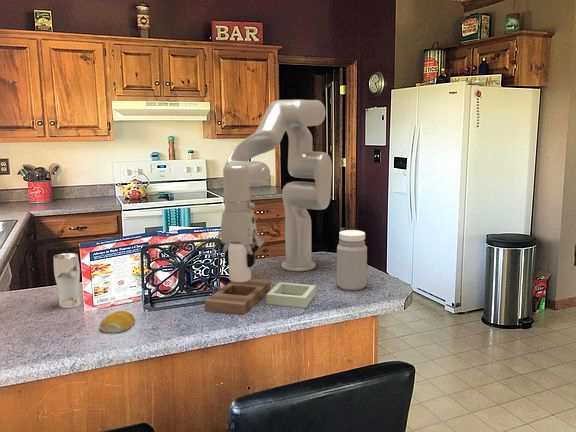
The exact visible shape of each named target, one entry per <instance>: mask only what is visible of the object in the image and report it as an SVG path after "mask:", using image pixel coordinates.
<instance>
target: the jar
mask: <svg viewBox="0 0 576 432" xmlns="http://www.w3.org/2000/svg"><path fill="white" fill-rule="evenodd" d="M338 234H339V235H338V237H339V238H338V239H339V241H338V244H337V246H336V286H337V287H338V288H339V289H341V290H345V291H361V290H363V289H365V288H366V286H367V279H368V278H367V275H368V273H367V272H368V271H367V269H368V268H367V267H368V266H367V265H368V246H367V245H366V241H365V240H366V233H365V231H362V230H359V229H358V230H357V229H346V230H341V231H339V233H338Z"/></svg>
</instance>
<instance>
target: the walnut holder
mask: <svg viewBox="0 0 576 432" xmlns="http://www.w3.org/2000/svg"><path fill="white" fill-rule="evenodd" d="M271 286H272V285H271V281H268V280H259V279H250V280H249V281H247V282H243V283H235V282H232V281H231V280H230V282H229V283H227V284H226V285H224V286H222V288H220V289H219V290H220V291H219V290H217V291H216V292H214V293H213V294H212V295H211V296H209V297H208V298H206V299H205V300H204V309H205V311H207V312H213V313H223V314H233V315H240V316H241V315H242V316H245V315H247V313H248V312H249V311H250V310H251V309H252V308H254V306H256V305H257V304H258V303H259V302H260V301H261V300H262V299H263V298H264V297H265V296H266V294H267V293H268V292H269V291H270V290H271V289H272V287H271Z"/></svg>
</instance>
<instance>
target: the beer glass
mask: <svg viewBox="0 0 576 432" xmlns="http://www.w3.org/2000/svg"><path fill="white" fill-rule="evenodd" d="M52 258H53V274H54V279H55V283H56V287H57V290H58V293H59V296H58V297H59V300H58V307H59V308H61V309H70V308H75V307H78V306H81V303H82V300H81V297H80V291H79V289H80V288H79V287H80V279H81V278H80V277H81V275H80V274H81V269H80V268H81V267H80V261H79V255H78V253H75V252H67V253H66V252H65V253H64V252H63V253H60V254H59V253H58V254H55V255H54V256H53V257H52Z"/></svg>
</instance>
